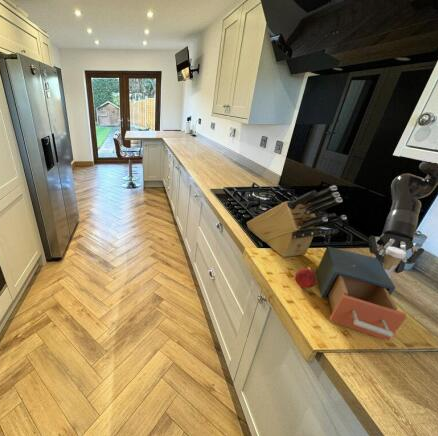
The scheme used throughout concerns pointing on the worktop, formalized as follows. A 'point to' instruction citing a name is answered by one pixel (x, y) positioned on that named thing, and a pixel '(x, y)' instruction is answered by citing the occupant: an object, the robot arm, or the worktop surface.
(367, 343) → the worktop surface
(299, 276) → the onion
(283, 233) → the knife block
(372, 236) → the robot arm
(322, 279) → the cabinet
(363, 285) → the drawer
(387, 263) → the sprinkles bottle
